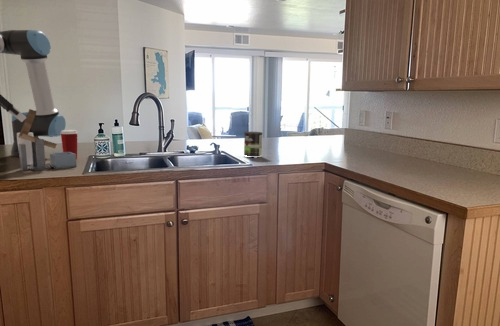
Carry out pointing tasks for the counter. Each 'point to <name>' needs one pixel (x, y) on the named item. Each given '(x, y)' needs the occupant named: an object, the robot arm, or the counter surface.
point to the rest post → (23, 157)
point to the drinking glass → (28, 147)
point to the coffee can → (253, 143)
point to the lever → (26, 130)
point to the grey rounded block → (63, 160)
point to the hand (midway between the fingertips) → (24, 119)
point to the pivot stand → (38, 155)
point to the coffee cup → (69, 141)
